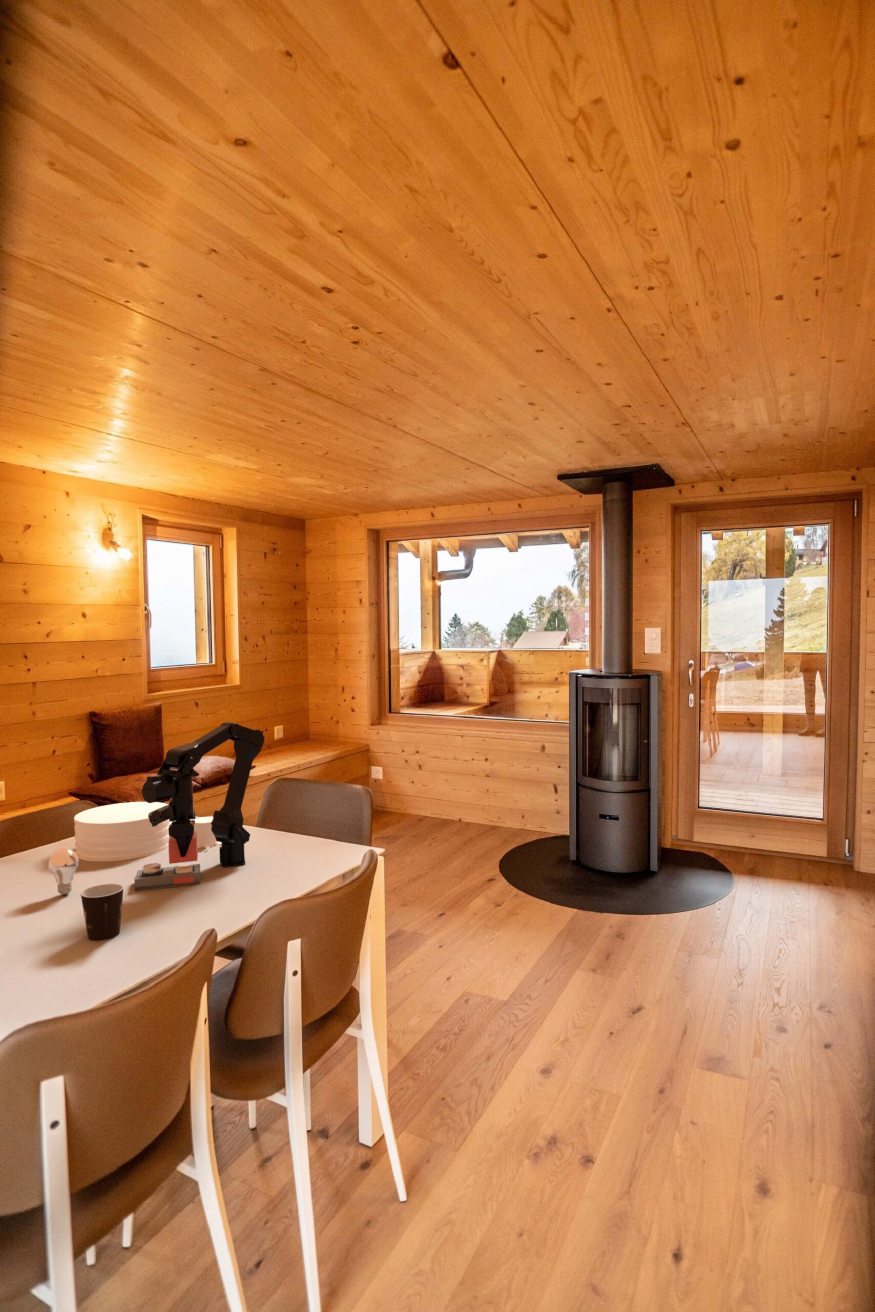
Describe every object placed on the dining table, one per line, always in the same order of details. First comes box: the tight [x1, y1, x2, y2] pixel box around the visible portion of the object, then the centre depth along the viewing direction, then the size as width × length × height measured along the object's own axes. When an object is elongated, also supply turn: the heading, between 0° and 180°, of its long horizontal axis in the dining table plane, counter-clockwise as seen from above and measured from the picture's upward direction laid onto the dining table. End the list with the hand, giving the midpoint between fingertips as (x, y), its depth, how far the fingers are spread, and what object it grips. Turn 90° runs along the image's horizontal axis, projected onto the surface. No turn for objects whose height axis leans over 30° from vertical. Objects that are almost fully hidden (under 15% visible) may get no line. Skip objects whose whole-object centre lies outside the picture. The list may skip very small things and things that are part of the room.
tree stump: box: [193, 816, 221, 849], centre depth 232 cm, size 20×19×8 cm
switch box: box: [134, 863, 201, 892], centre depth 196 cm, size 16×8×3 cm, turn 107°
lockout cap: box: [168, 832, 199, 865], centre depth 197 cm, size 7×7×6 cm
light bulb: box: [48, 847, 80, 897], centre depth 188 cm, size 7×7×12 cm
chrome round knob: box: [142, 862, 162, 877], centre depth 194 cm, size 4×4×2 cm
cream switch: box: [175, 864, 193, 874], centre depth 197 cm, size 4×4×2 cm
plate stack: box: [73, 801, 173, 862], centre depth 230 cm, size 28×28×12 cm
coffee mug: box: [80, 883, 124, 942], centre depth 160 cm, size 12×9×10 cm
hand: (183, 853), depth 197 cm, fingers closed on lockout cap, 7 cm apart
